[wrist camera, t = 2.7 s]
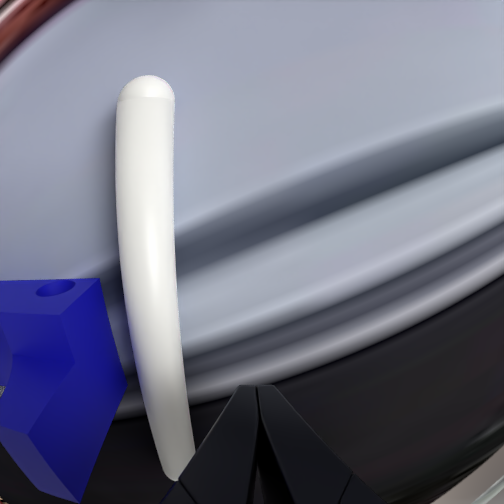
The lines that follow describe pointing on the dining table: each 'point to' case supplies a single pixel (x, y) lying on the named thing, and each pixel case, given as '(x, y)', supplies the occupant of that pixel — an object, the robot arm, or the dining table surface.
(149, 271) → the white peg
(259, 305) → the dining table surface
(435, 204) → the dining table surface
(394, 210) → the dining table surface
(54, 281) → the cable clip
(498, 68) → the dining table surface
